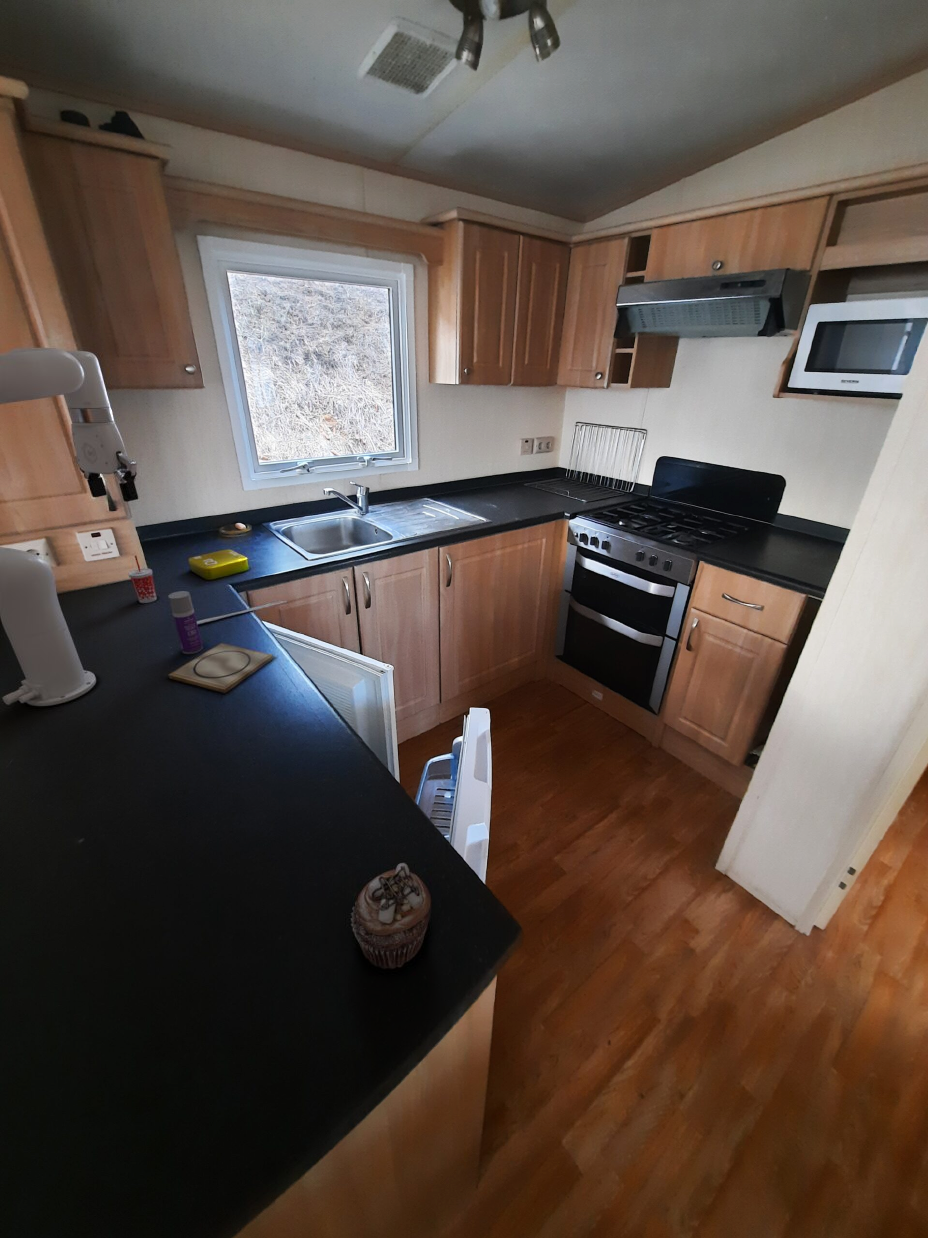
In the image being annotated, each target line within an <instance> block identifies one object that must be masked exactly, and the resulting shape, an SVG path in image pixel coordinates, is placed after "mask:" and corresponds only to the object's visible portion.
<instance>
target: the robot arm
mask: <svg viewBox="0 0 928 1238" xmlns="http://www.w3.org/2000/svg"><path fill="white" fill-rule="evenodd" d="M58 396H63V398H64V401H65V405H66V408H67V412H68V414H69V418H70V421H71V425H70V428H71V437H72V442H73V443H72V444H73V448H74V451H75V456H74V458H73V459H74V461H75V463H76V465H77V466H78V467H79V468H78V469H79V471H80V472H81V473H82V474H83V478H84V479H85V480H86V482H87V484H88V488H89V492H90V494H91V497H92V498H95V499H96V498H100V497H104V496H105V497H106V496H107V494H108V493H107V488H106V485H105V482H104V479H103V477H102V476H101V475H112V474H113V475H114V476H115V477H116V478H117V479H118V480H119V481H120V483H118V485H119V489H120V492H121V497H122V499H123V500H122V501H124V502H127V503H128V502H132V501H137V500H138V499H139V494H138V490H137V487H136V483H135V482H136V478H137V477H136V476H137V468H138V463H137V462H136V461H135V460H133V459H132V458H130V457H129V456H128V453H127V451H126V446H125V444H124V441H123V439H122V436H121V433H120V431H119V428H118V427H117V424H116V422H115V419H114V418H115V417H114V414H113V411H112V408H111V403H110V400H109V399H110V398H109V397H108V393H107V389H106V385H105V382H104V377H103V373H102V370H101V365H100V363H99V359H98V358H97V356H96V355H95V354H94V353H92V352H91V351H85V350H63V349H60V348H55V347H17V348H13V349H11V350H8V351H7V352H6V353H4V352H3V353H0V405H4V404H12V403H18V402H27V401H32V400H39V399H46V398H52V397H58ZM55 578H56V577H55V575H54V571H53V569H52V567H51V566H50V564H49V563H48V562H47V561H46V560H44V559H43V558H42V557H41V556H39V555H37V554H34V553H33V552H29V551H26V550H21V549H16V548H11V547H4V546H0V621H1V624H2V626H3V629H4V631H5V634H6V636H7V639H8V640H9V642H10V645H11V647H12V650H13V652H14V654H15V656H16V659H17V661H18V664H19V666H20V669H21V670H22V672H23V675H24V677H25V679H23V680H21V681H20V683H21V685H22V686H20V687H18V689H17V690H15V691H12V692H10V693H8V694H6V695H3V696H2V701H3V703H4V704H6V705H8V706H9V705H12V704H13V703H15V702H18V701H19V702H20V704H24V703H26V704H28V705H30V706H35V707H49V706H55V705H60V704H63V703H68V702H70V701H73V700H75V699H77V698H80V697H81V696H83V695H86V694H87V693H88V692H89V691H90V690H92V689H93V688H94V686H95V685H96V683H97V677H96V676H95V674H94V673H93V672H92V671H90V670H89V671H88V670H84V667H83V665H82V662H81V660H80V657H79V654H78V652H77V651H78V650H77V648H76V646H75V643H74V640H73V638H72V635H71V633H70V629H69V627H68V625H67V622H66V619H65V617H64V614H63V611H62V608H61V604H60V602H59V598H58V593H57V585H56V579H55Z"/></svg>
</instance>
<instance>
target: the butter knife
mask: <svg viewBox="0 0 928 1238" xmlns="http://www.w3.org/2000/svg"><path fill="white" fill-rule="evenodd" d="M283 603H287V600H281V601H277V602H272V603H265V604H262V605H258V606H254V607H251V608H247V609H244V610H241V611H236V612H233V613H228V614H223V615H218V616H214V617H209V618H206V619H200V620H196V621H197V625H198V626H199V625H203V624H206V623H211V622H214V621H218V620H221V619H224V618H229V617H232V616H237V615H240V614H244V613H248V612H251V611H257V610H261V609H264V608H269V607H272V606H276V605H280V604H283Z"/></svg>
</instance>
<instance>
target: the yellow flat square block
mask: <svg viewBox="0 0 928 1238" xmlns="http://www.w3.org/2000/svg"><path fill="white" fill-rule="evenodd" d="M188 563H189V567H190V571H191V572H193V573H194V574H196V575H197V576H200V577H201V578H203V579H205V580H207V581H213V580H218V579H221V578H226V577H229V576H232V575H237V574H240V573H244V572H246V571H247V572H248V571H249V570H250V566H249V561H248V557H246V556H245V555H243V554H240V553H238V552H236V551H234V550H233V549H228V548H227V549H221V550H218V551H213V552H209V553H205V554H201V555H196V556H192V557H189V558H188Z"/></svg>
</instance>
